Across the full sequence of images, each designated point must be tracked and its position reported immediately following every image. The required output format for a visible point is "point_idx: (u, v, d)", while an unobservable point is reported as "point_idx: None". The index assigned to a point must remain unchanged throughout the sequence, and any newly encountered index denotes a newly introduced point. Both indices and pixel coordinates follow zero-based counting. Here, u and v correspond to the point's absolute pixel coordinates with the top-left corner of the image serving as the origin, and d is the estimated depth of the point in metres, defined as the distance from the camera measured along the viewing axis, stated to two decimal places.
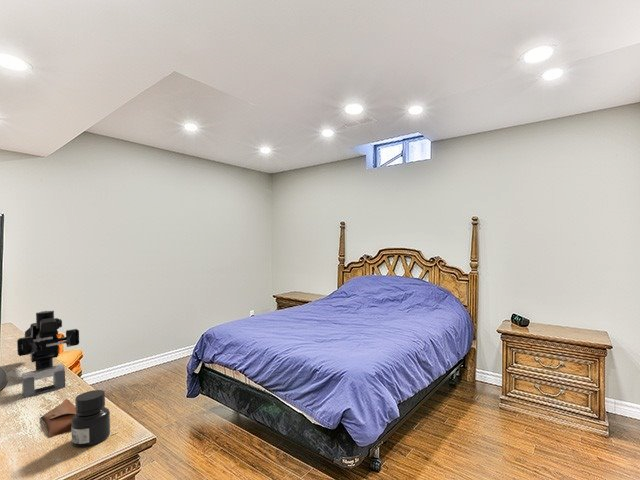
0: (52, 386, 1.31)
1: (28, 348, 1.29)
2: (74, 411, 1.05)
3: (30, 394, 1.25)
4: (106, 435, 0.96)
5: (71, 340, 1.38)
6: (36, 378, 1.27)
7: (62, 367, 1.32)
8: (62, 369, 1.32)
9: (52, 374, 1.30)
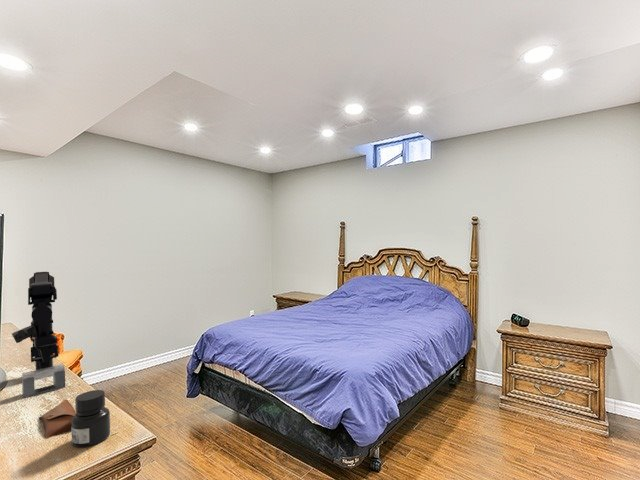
0: (52, 386, 1.31)
1: None
2: (71, 412, 1.05)
3: (30, 394, 1.25)
4: (106, 435, 0.96)
5: None
6: (36, 378, 1.27)
7: (62, 367, 1.32)
8: (62, 369, 1.32)
9: (52, 374, 1.30)
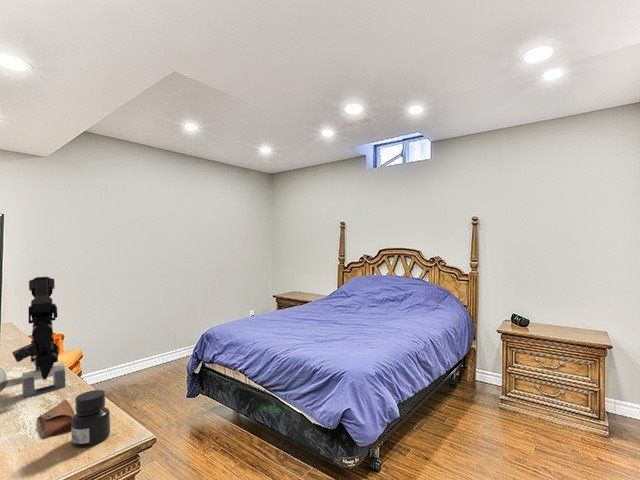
0: (52, 386, 1.31)
1: None
2: (69, 412, 1.05)
3: (30, 394, 1.25)
4: (106, 435, 0.96)
5: None
6: (36, 378, 1.27)
7: (62, 367, 1.32)
8: (62, 369, 1.32)
9: (52, 374, 1.30)
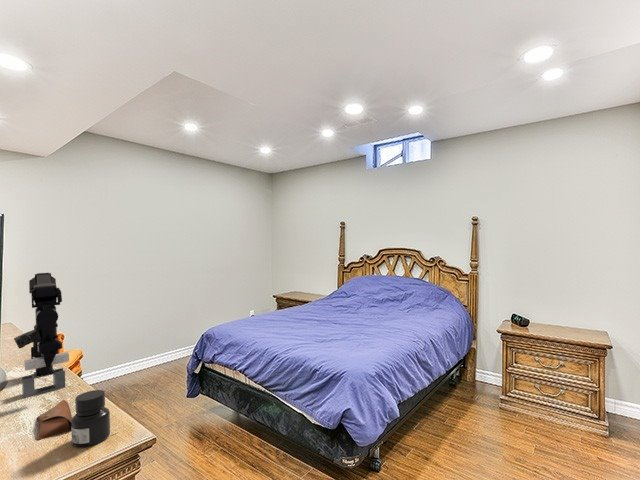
0: (52, 386, 1.31)
1: None
2: (65, 414, 1.04)
3: (30, 394, 1.25)
4: (106, 435, 0.96)
5: None
6: (39, 366, 1.20)
7: (66, 355, 1.25)
8: (66, 357, 1.25)
9: (56, 362, 1.23)
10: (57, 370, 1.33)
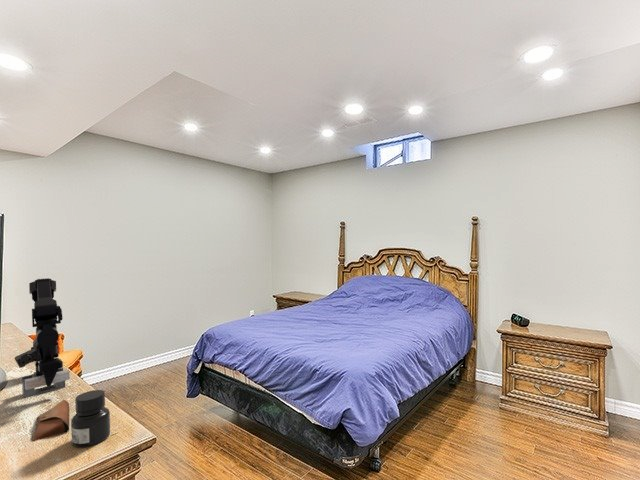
0: (52, 386, 1.31)
1: None
2: (62, 415, 1.03)
3: (30, 394, 1.25)
4: (106, 435, 0.96)
5: None
6: (40, 385, 1.20)
7: (67, 373, 1.25)
8: (67, 375, 1.25)
9: (56, 380, 1.23)
10: None
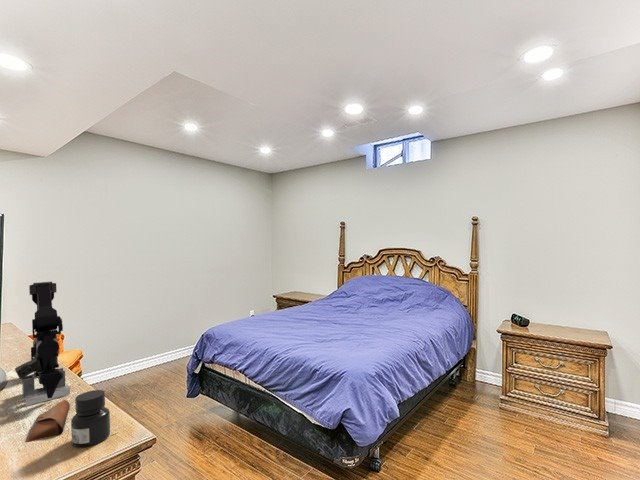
0: None
1: None
2: (59, 416, 1.03)
3: (30, 394, 1.25)
4: (106, 435, 0.96)
5: None
6: (40, 401, 1.20)
7: (67, 389, 1.25)
8: (67, 391, 1.25)
9: (57, 397, 1.23)
10: None
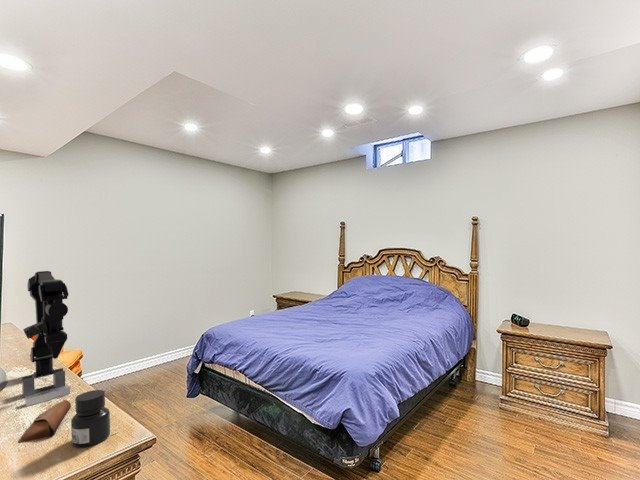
0: (52, 386, 1.31)
1: None
2: (53, 417, 1.02)
3: (30, 394, 1.25)
4: (106, 435, 0.96)
5: None
6: (40, 401, 1.19)
7: (67, 388, 1.25)
8: (67, 391, 1.25)
9: (57, 396, 1.23)
10: (57, 370, 1.33)
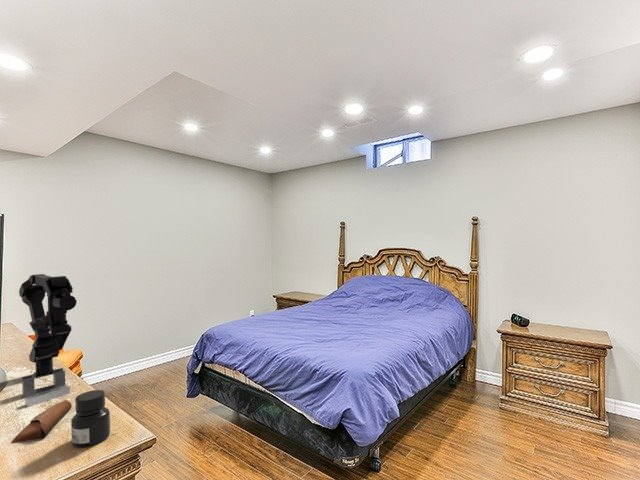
0: (52, 386, 1.31)
1: None
2: (47, 418, 1.01)
3: (30, 394, 1.25)
4: (106, 435, 0.96)
5: None
6: (41, 401, 1.19)
7: (67, 388, 1.26)
8: (67, 390, 1.26)
9: (57, 396, 1.23)
10: (57, 370, 1.33)
